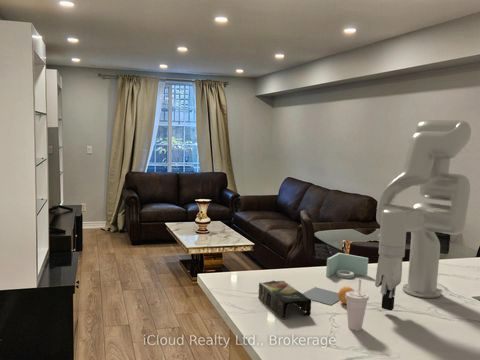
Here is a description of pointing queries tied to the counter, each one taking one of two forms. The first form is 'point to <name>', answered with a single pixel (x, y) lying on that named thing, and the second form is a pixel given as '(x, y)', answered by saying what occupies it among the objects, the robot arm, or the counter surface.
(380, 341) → the counter surface
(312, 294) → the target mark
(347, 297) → the smoothie
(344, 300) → the ball
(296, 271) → the counter surface
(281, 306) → the juice carton
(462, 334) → the counter surface
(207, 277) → the counter surface
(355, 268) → the right angle wall
